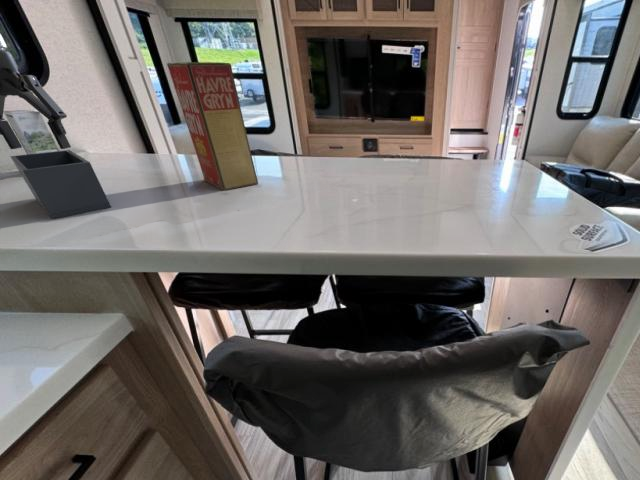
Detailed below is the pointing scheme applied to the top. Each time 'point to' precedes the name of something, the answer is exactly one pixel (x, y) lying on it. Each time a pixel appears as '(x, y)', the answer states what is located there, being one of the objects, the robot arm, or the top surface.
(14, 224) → the top surface
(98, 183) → the dark grey open box
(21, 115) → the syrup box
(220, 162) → the food packaging
